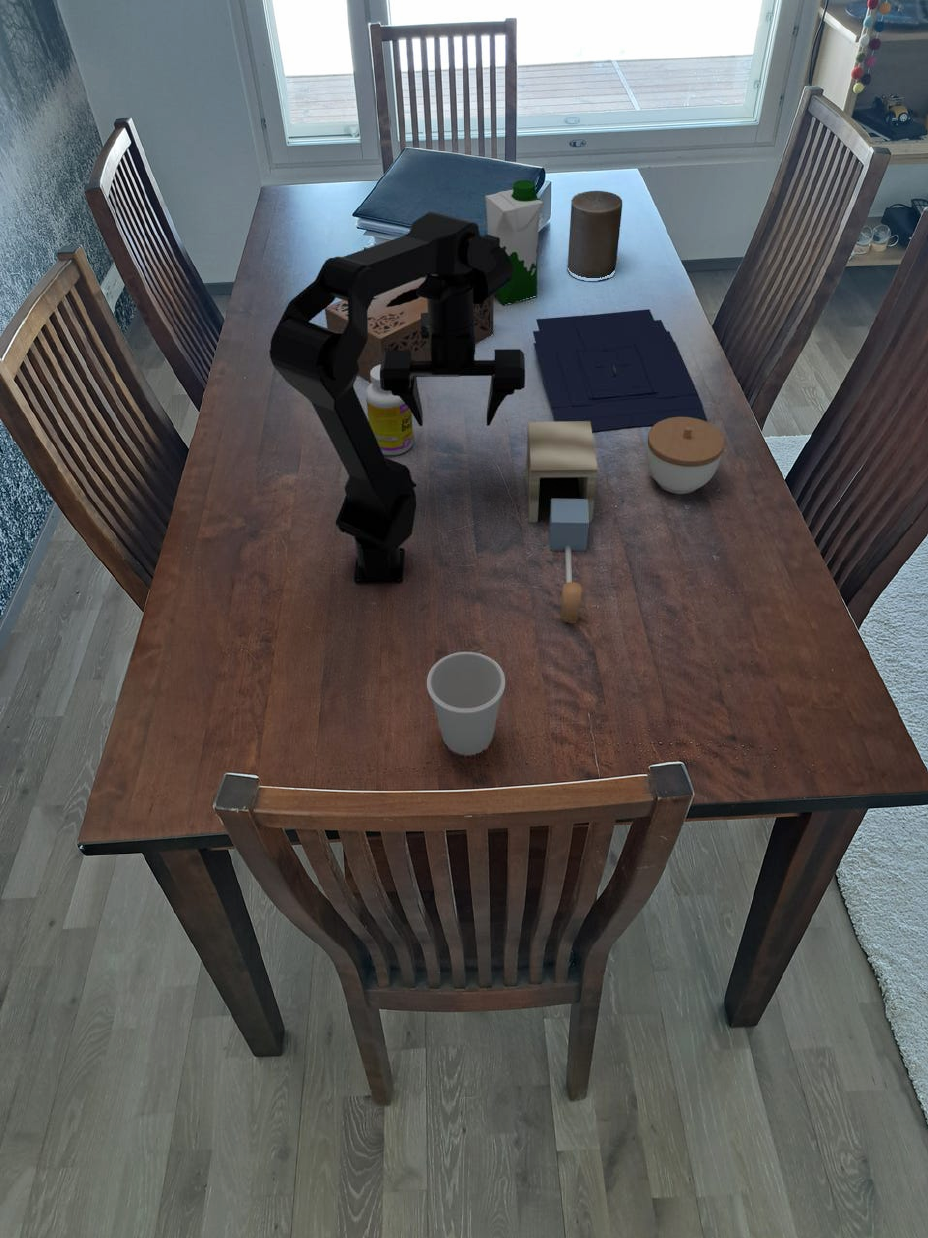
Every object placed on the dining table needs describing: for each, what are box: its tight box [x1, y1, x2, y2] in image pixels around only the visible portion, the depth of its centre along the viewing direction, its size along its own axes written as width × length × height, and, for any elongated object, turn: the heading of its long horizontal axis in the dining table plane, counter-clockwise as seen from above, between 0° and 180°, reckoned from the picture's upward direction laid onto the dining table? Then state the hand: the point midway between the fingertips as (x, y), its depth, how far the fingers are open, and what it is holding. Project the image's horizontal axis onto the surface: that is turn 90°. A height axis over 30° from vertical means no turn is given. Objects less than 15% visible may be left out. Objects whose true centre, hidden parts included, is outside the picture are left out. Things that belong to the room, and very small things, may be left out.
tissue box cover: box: [324, 274, 495, 384], centre depth 159 cm, size 26×14×10 cm, turn 134°
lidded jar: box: [646, 417, 726, 495], centre depth 131 cm, size 11×11×9 cm
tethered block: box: [549, 498, 590, 623], centre depth 120 cm, size 19×5×5 cm, turn 177°
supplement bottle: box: [365, 364, 414, 456], centre depth 138 cm, size 7×7×13 cm
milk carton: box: [485, 179, 544, 306], centre depth 168 cm, size 9×9×20 cm
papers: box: [532, 309, 708, 433], centre depth 153 cm, size 24×30×4 cm
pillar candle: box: [567, 190, 623, 278], centre depth 175 cm, size 10×10×15 cm
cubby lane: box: [525, 421, 598, 523], centre depth 129 cm, size 11×9×9 cm
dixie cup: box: [426, 651, 506, 755], centre depth 100 cm, size 8×8×10 cm
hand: (454, 424), depth 125 cm, fingers open, 9 cm apart
